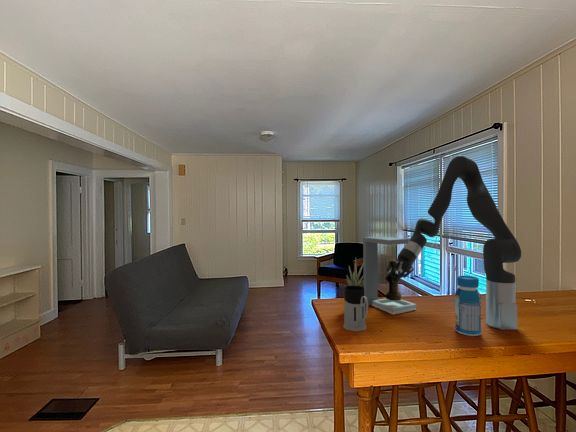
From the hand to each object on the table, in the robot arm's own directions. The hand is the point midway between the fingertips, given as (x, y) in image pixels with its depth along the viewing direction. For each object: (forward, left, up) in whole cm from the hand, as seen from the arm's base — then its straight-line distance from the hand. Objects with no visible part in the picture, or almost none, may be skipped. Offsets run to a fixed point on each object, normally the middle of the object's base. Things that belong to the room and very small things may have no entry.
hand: (390, 281), depth 140 cm
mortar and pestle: (+1, -2, -8) cm, 8 cm away
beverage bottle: (-28, -19, -12) cm, 36 cm away
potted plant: (-6, +17, -12) cm, 22 cm away
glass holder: (-24, +20, -12) cm, 34 cm away
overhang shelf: (+2, 0, -12) cm, 12 cm away
